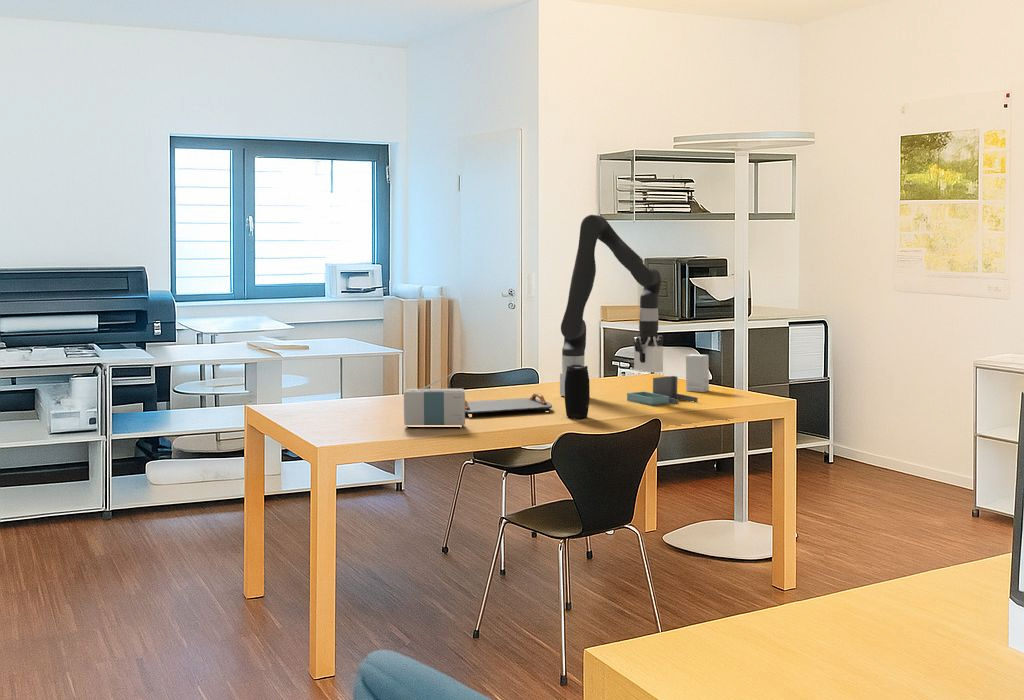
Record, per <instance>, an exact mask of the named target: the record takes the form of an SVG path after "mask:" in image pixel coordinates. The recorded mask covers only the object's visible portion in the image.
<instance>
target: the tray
mask: <svg viewBox="0 0 1024 700" xmlns="http://www.w3.org/2000/svg"><path fill="white" fill-rule="evenodd" d="M626 401H627V402H633V403H638V404H641V405H646V406H651V407H654V406H662V405H670V403H669V396H664V395H660V394H655V393H653V392H650V391H636V392H627V393H626Z"/></svg>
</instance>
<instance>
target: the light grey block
mask: <svg viewBox="0 0 1024 700" xmlns="http://www.w3.org/2000/svg"><path fill="white" fill-rule="evenodd" d="M643 345H644V344H643ZM642 350H643V348H642ZM633 354H634V357H633V370H636V371H642V372H647V373H652V374H653V373H663V372H664V346H663V345H662V346H654V343H649V345H648V346H646V348H645V363H641V362H640V353H639V352H636V351H635V346H634V345H633Z"/></svg>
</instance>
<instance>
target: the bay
mask: <svg viewBox="0 0 1024 700" xmlns="http://www.w3.org/2000/svg"><path fill="white" fill-rule="evenodd" d="M652 393H655V394H660V395H664V396H669V404H671V405H675V404H676V405H677V404H678V405H679V402H680V401H679V400H680V399H682V400H681V401H685V400H688V401H687V402H690V401H694V402H693V403H695V402H698V397H696V396H692V395H687V394H682V393H678V376H676V375H668V376H657V377H652ZM675 398H677V399H675Z"/></svg>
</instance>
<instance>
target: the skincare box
mask: <svg viewBox="0 0 1024 700" xmlns="http://www.w3.org/2000/svg"><path fill="white" fill-rule="evenodd" d="M709 363H710V362H709V354H695V353H690V354H686V355H685V382H686V383H685V384H686V386H685V387H686V388H685V391H686V392H693V393H694V392H697V393H705V392H708V391H709V390H710V384H709V383H710V382H709V381H710V377H709V376H710V374H709V372H710V369H709V367H710V364H709Z"/></svg>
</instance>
